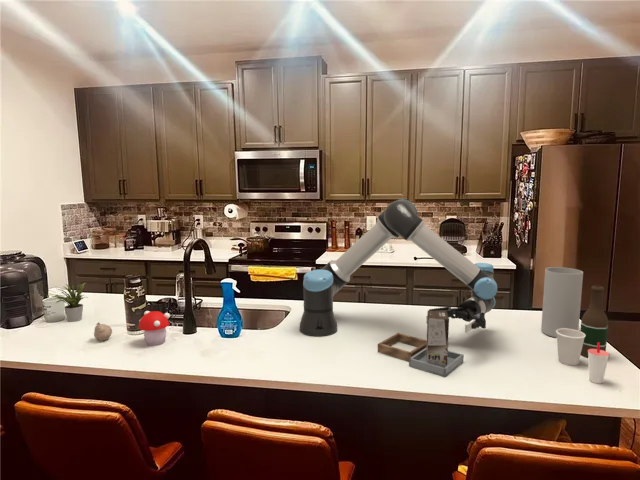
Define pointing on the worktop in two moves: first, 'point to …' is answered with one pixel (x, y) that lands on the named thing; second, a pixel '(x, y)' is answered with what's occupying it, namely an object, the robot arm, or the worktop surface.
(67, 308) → the house plant
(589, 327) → the beer bottle
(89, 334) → the worktop surface
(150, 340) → the mushroom
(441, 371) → the tray
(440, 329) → the coffee box
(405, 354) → the brown square frame
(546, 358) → the worktop surface
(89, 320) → the worktop surface
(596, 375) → the cup
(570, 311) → the cylinder vase
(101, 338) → the garlic bulb
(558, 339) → the dixie cup
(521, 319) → the worktop surface
